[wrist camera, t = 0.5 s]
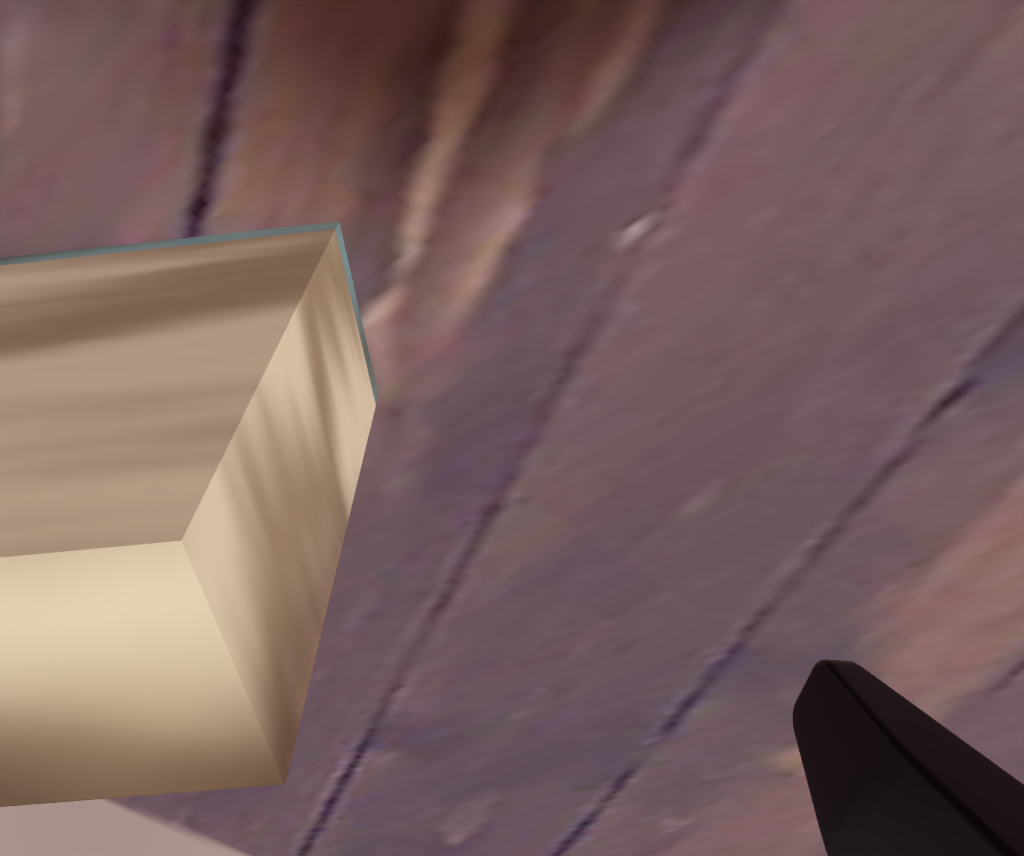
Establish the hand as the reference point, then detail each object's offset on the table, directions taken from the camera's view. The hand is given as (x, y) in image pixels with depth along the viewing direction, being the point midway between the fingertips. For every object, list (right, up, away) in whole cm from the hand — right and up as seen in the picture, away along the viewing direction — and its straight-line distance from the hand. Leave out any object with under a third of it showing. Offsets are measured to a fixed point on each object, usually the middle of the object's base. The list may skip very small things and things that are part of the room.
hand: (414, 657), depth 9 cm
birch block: (-9, +5, +13) cm, 16 cm away
